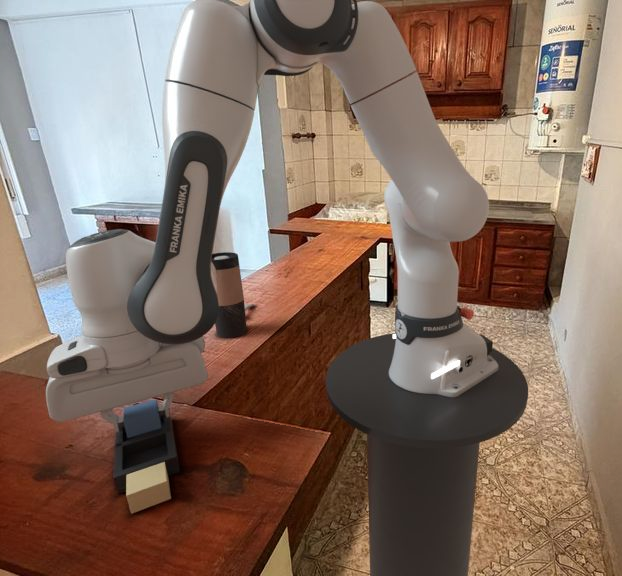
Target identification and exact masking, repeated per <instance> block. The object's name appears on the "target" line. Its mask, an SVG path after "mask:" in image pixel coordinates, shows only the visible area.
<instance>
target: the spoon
mask: <svg viewBox="0 0 622 576" xmlns="http://www.w3.org/2000/svg"><path fill="white" fill-rule="evenodd" d="M254 306H255V304H254V303H247V304H245V312H246V311H247V310H248V309H250V308H252V307H254ZM245 316H246V313H245ZM246 317H247V316H246Z"/></svg>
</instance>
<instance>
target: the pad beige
mask: <svg viewBox="0 0 622 576" xmlns="http://www.w3.org/2000/svg"><path fill="white" fill-rule="evenodd" d="M125 497H126V500H127V504H128V508H129V511H130V514H131V515H132V514H135V513H138V512H140V511H143V510H146V509H147V508H150V507H153V506H156V505H158V504H161V503H163V502H166V501H169V500H171V499H172V495H171V488H170V480H169V476H168V474H167V470H166V465H165V462H162V463H159V464H157V465H154V466H151V467H148V468H145V469H142V470H139V471H136V472H133V473H130V474H127V475H126V492H125Z"/></svg>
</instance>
